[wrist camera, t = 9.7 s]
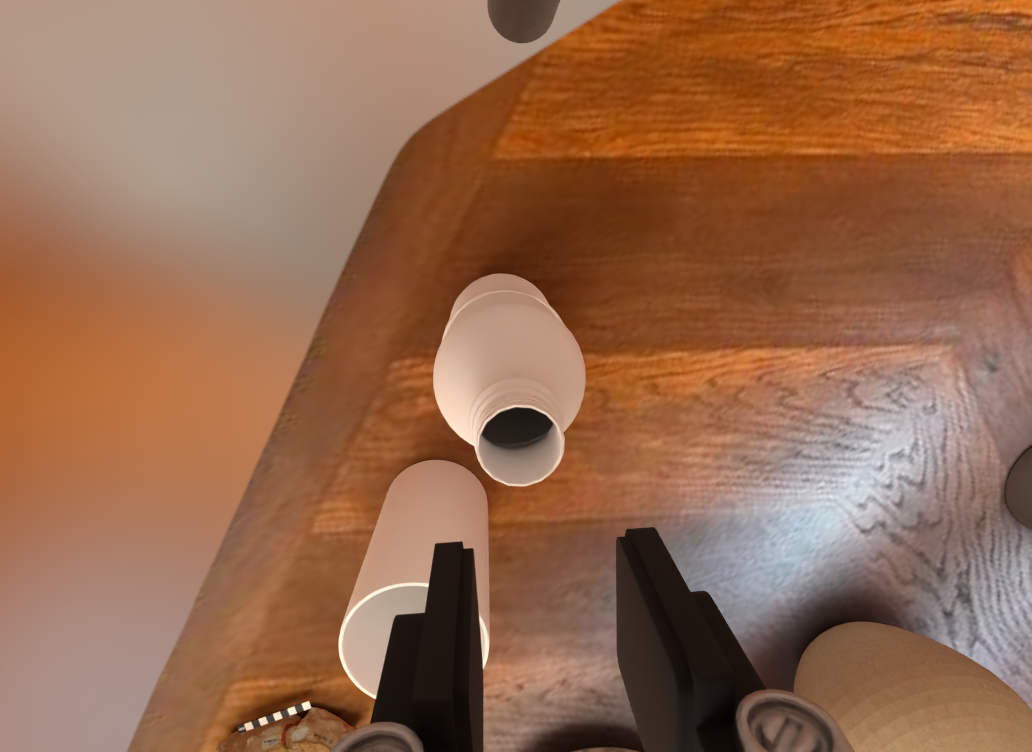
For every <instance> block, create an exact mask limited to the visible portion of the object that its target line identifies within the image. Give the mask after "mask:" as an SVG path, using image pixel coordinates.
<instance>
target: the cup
mask: <svg viewBox="0 0 1032 752" xmlns="http://www.w3.org/2000/svg"><path fill="white" fill-rule="evenodd" d="M459 541H462V542H463V547H464V549H465V548H473V549H474V558H475V571H476V584H477V596H478V609H479V622H480V634H481V647H482V660H483V669H484V666H485V664H486V661H487V657H488V651H489V642H490V628H489V552H488V501H487V496H486V493H485V490H484V488H483V486H482V484H481V482H480V481H479V480H478V478H477V477H476V476H475V475H474V474H473V473H472V472H470V471H469V470H468V469H466V468H465V467H463V466H461V465H459V464H456V463H454V462H450V461H445V460H427V461H422V462H419V463H416V464H414V465H412V466H410V467H408V468H406V469H405V470H404V471H402V472H401V473H400V474H399V475H398V476H397V477H396V478H395V480H394V481H393V482H392V484H391V486H390V488H389V490H388V493H387V495H386V498H385V501H384V504H383V507H382V510H381V513H380V516H379V519H378V521H377V524H376V527H375V530H374V533H373V536H372V539H371V542H370V544H369V547H368V550H367V553H366V556H365V559H364V562H363V565H362V568H361V570H360V573H359V576H358V579H357V582H356V585H355V588H354V591H353V594H352V596H351V599H350V602H349V605H348V608H347V611H346V614H345V617H344V620H343V623H342V626H341V630H340V636H339V654H340V659H341V662H342V665H343V667H344V669H345V671H346V673H347V675H348V676H349V678H350V679H351V680H352V681H353V683H354V684H355V685H356V686H357V687H358V688H359V689H361V690H362V691H363V692H364V693H366V694H367V695H369V696H371V697H372V698H374V699H376V696H377V691H378V687H379V682H380V678H381V673H382V669H383V664H384V660H385V655H386V651H387V646H388V642H389V638H390V633H391V629H392V624H393V620H394V617H395V616H396V615H400V614H413V613H425V607H426V600H427V593H428V587H429V580H430V573H431V566H432V560H433V553H434V546H435V543H446V542H459Z"/></svg>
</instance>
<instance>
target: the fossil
mask: <svg viewBox="0 0 1032 752" xmlns="http://www.w3.org/2000/svg"><path fill="white" fill-rule="evenodd" d="M307 709H309V712H308V714H306V716H305V717H304V718H303V719H302V718H301V717H300V716H298V715H295V714H296V713H299V712H302V711H305V710H307ZM293 714H294V715H293ZM237 729H238V731H236V732H235V733H232V734H230V735H229V736H228V737H226V738H225V739H223V740H222V741H220V742H219V743H218V744H217V747H216V750H217V751H218V752H330V751H331V749H332V748H333V747H334V745H335V744H337V743H338V742H339V741H340V740H341V739H342V738H344V737H345V736H346V735H347V734H349V733H351V732H353V731H354V730H356V729H357V728H353V727H352V726H349V725H348V724H347V723H346V722H345V721H343V720H342V719H341V718H339V717H338V716H335V715H333V714H331V713H330V712H328V711H326V710H324V709H319V708H314V707H311V705H310V703H309V701H307V702H305V703H302V704H299V705H296V706H293V707H290V708H288V709H285V710H282V711H279V712H276V713H273V714H271V715H268V716H265V717H262V718H259V719H257V720H254V721H251V722H248V723H245V724H242V725H240V726H237Z"/></svg>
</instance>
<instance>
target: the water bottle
mask: <svg viewBox="0 0 1032 752" xmlns="http://www.w3.org/2000/svg"><path fill="white" fill-rule="evenodd" d="M585 383H586V375H585V365H584V360H583V356H582V353H581V350H580V348H579V345H578V343H577V342H576V340H575V338H574V336H573V334H572V333H571V332H570V331H569V330H568V328H567V327H566V326H565V325H564V324H563V322H562V320H561V319H560V317H559V315H558V314H557V313H556V312H555V310H554V309H553V308H552V307H551V306H550V305H549V304H548V302H547V300H546V298H545V297H544V295H543V294H542V293H541V291H540V290H539V289H538V288H537V287H536V286H534V285H533V284H532V283H530V282H529V281H527V280H525V279H523V278H521V277H519V276H516V275H511V274H491V275H488V276H484V277H481V278H479V279H478V280H476V281H474V282H472V283H471V284H470V285H469V286H467V287H466V288H465V289H464V290H463V292H462V293H461V294H460V295H459V296H458V298H457V300H456V301H455V303H454V306H453V308H452V311H451V315H450V320H449V322H448V324H447V326H446V328H445V331H444V334H443V338H442V343H441V345H440V347H439V349H438V352H437V355H436V359H435V363H434V372H433V385H434V392H435V396H436V401H437V403H438V406H439V408H440V411H441V413H442V415H443V416H444V418H445V419H446V421H447V422H448V424H449V426H450V427H451V428H452V429H453V430H454V431H455V432H456V433H457V434H458V435H459V436H460V437H461V438H463V439H464V440H465V441H467V442H468V443H469V444H471V445H473V446H475V451H476V454H477V458H478V461H479V462H480V464H481V467H482V468H483V469H484V470H485V471H486V472H487V473H488V474H489V475H490V476H491V477H492V478H493V479H494V480H496V481H499V482H501V483H503V484H506V485H508V486H528V485H531V484H534V483H537V482H540V481H542V480H543V479H545V478H546V477H547V476H548V475H550V474H551V473H552V472H553V471H554V470H555V469H556V467H557V466H558V464H559V463H560V460H561V458H562V455H563V453H564V443H565V437H564V433H563V432H564V431H565V430H566V429H567V428H568V427H569V425H570V424H571V423H572V422H573V420H574V418H575V416H576V415H577V413H578V411H579V409H580V406H581V403H582V400H583V396H584V390H585Z"/></svg>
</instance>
